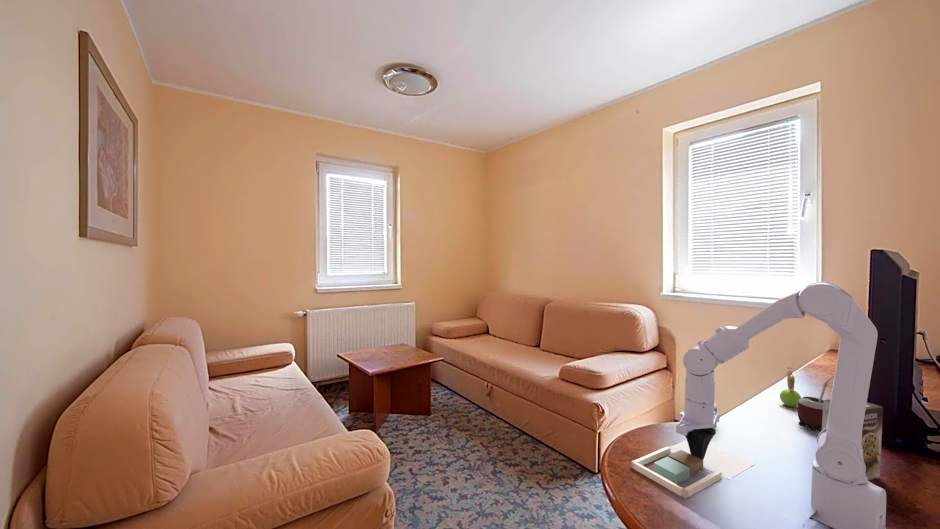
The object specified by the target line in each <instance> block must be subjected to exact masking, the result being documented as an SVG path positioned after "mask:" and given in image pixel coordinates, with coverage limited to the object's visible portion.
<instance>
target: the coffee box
mask: <svg viewBox="0 0 940 529" xmlns="http://www.w3.org/2000/svg"><path fill="white" fill-rule="evenodd" d="M822 400H823V415H822V430H824V428H825V427H826V423H827V418H828V413H829V407H830V401H831V398H830V399H822ZM883 414H884V407H883V406H881V405H878V404H876V403H871V402H868V401H867V404H866V410H865V416H864V422H863V428H862V443H861V445H862V447H863V460H864V463H865V466H866V472H865V474H866V476H867V480H868V481H871V480H875V479H874V478H876V479H879V478H878V477H881V459H882V458H881V457H882V456H881V455H882V440H883V439H882V435H883V417H884V416H883ZM822 430H821V431H822Z"/></svg>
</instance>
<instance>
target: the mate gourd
mask: <svg viewBox="0 0 940 529" xmlns="http://www.w3.org/2000/svg"><path fill="white" fill-rule="evenodd" d="M832 378H834V374H833V375H831V376H829V377H828V378H827V379H826V381H825V382H824V383H823V385H822V386H823V387H822V390H821V393H820V397H819V398H818V397H815V396H801V399H800V400H799V402H798V406H797V416H798V420H799V421H798V425H800V426H805V427H808V428H811V429H810V430H811V431H813V432H816V429H818V430H821V431H822V415H823V400H824V399H823V398H824V395H825V391H826V389H827V387H828V384H829V382H830V381H831V380H832Z"/></svg>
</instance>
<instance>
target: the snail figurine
mask: <svg viewBox="0 0 940 529" xmlns="http://www.w3.org/2000/svg"><path fill="white" fill-rule="evenodd" d="M792 370H793V367H789V366H788V367H787V374H786V375H787V378H786V381H787V389H783V390H782V391H781V392H780V394H779V398H780V401H781V402H782V403H783V404H784V405H785V406H786V407H787V406H788V407H791V408H794V407H798V402H799V400H800V399H801V398H802V396H801V394H800V393H799V392H797V391H796V390H795V381H796V380H795V376H794V374H793V372H792Z"/></svg>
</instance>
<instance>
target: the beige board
mask: <svg viewBox="0 0 940 529" xmlns="http://www.w3.org/2000/svg"><path fill="white" fill-rule="evenodd" d="M669 447H670V453H671V454H672V453H675V452H677V451H679V450H683V451H685V452H687V453H689V454H691V453H690V449H689V445H688V442H687V439H685V440H683V441H680V442H678V443H676V444H673V445H671V446H669ZM755 465H756V463H754V462H751V461H749V460H747V459H744V458H742V457H739V456H737V455H735V454H732V453H730V452H728V451H726V450H723V449H721V448H719V447H717V446H714V445H712V444H709V445H708V448H707V451H706V454H705V457H704V459H703V469H705V470H707V471H709V472H711V473H713V472H715V471H717V470H718V471H720V472H722V478H723V479H725V480H731V479H732V478H735V477H736V476H738V475H739V474H741V473H743V472H745V471H746V470H748V469H749V468H752V467H753V466H755Z"/></svg>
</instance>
